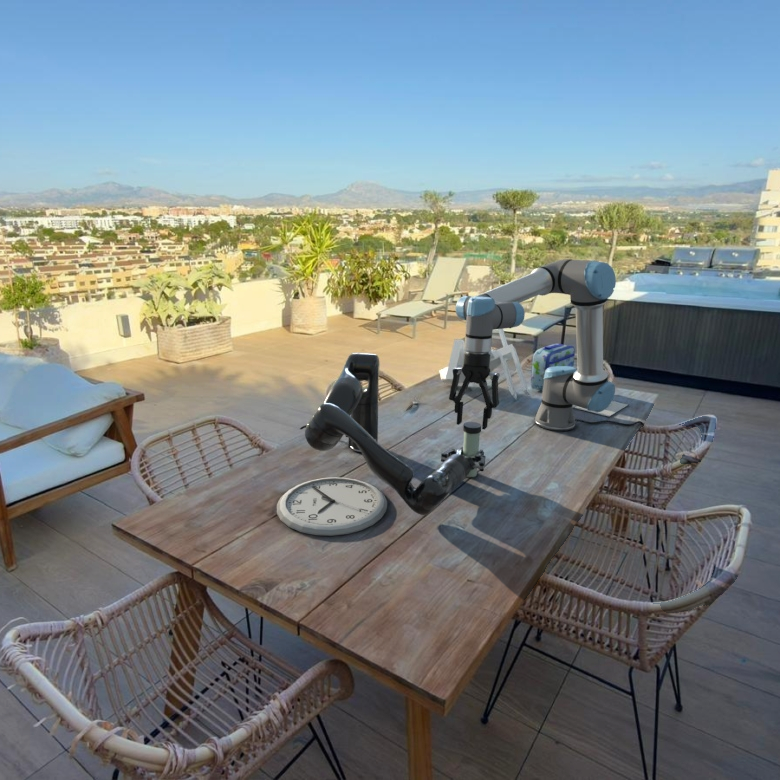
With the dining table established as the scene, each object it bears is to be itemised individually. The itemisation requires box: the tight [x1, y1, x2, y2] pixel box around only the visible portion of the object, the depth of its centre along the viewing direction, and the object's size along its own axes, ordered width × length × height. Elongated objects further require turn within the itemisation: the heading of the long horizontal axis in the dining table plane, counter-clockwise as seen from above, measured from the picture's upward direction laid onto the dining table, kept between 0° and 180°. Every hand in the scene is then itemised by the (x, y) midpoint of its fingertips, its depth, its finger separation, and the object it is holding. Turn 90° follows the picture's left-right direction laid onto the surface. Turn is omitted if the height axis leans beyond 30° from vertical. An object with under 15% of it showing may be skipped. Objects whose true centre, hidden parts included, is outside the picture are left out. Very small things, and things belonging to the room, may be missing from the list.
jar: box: [462, 431, 481, 478], centre depth 160 cm, size 5×5×16 cm
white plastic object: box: [438, 329, 531, 400], centre depth 245 cm, size 37×45×31 cm
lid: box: [462, 421, 482, 434], centre depth 158 cm, size 5×5×2 cm
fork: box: [405, 396, 421, 411], centre depth 222 cm, size 3×16×2 cm, turn 160°
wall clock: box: [276, 476, 388, 537], centre depth 142 cm, size 30×2×30 cm
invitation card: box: [573, 400, 629, 418], centre depth 226 cm, size 21×1×15 cm
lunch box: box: [530, 343, 576, 391], centre depth 249 cm, size 26×11×21 cm, turn 134°
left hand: (473, 450), depth 163 cm, fingers closed on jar, 4 cm apart
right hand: (471, 425), depth 158 cm, fingers open, 7 cm apart
